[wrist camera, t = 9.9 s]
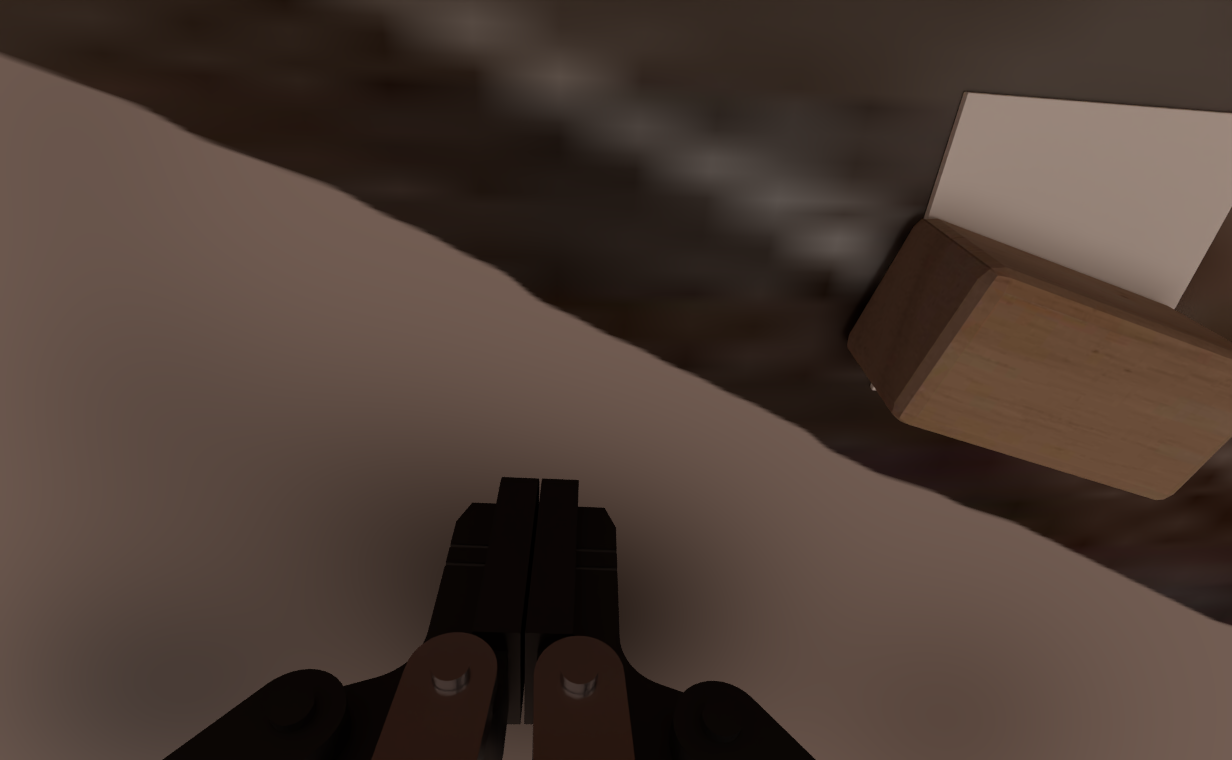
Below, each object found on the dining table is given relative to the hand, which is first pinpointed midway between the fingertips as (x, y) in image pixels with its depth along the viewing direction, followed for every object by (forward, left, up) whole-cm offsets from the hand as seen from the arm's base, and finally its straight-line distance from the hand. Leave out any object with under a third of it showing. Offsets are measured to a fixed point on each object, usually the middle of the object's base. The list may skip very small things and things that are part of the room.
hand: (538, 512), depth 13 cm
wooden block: (+7, +20, -26) cm, 33 cm away
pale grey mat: (+5, +31, -31) cm, 44 cm away
